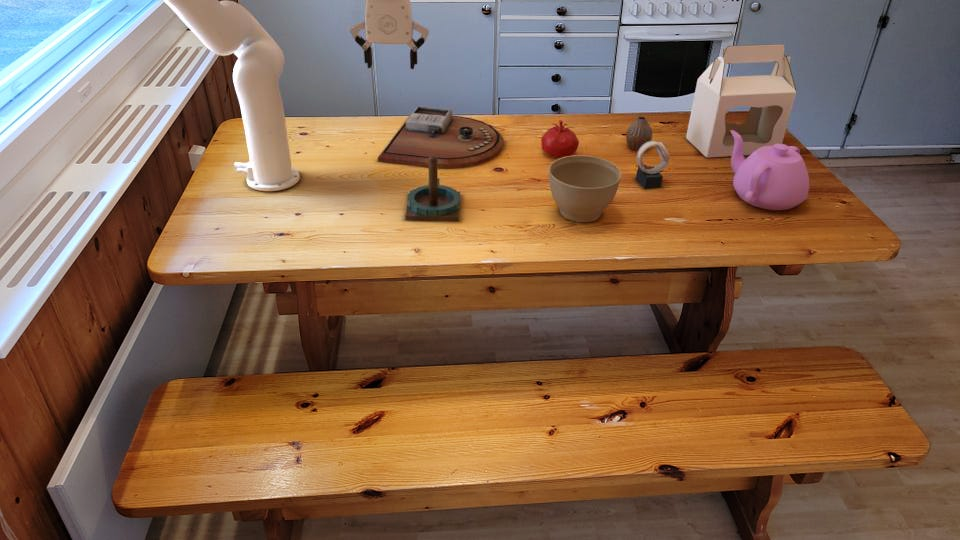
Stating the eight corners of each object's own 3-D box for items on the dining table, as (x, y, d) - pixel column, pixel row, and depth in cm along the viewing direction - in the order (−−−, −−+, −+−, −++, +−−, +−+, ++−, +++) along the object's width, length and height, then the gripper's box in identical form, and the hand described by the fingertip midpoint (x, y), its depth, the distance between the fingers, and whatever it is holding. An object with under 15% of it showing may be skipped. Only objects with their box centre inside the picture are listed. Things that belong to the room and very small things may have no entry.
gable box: (756, 134, 206) (781, 36, 190) (780, 153, 195) (809, 51, 179) (684, 138, 202) (704, 38, 186) (705, 158, 191) (728, 54, 176)
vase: (653, 146, 197) (659, 116, 192) (644, 155, 192) (649, 124, 187) (630, 140, 200) (635, 111, 195) (620, 149, 195) (625, 118, 190)
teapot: (739, 167, 187) (752, 117, 179) (820, 196, 175) (837, 144, 167) (695, 193, 174) (706, 141, 166) (779, 227, 162) (795, 172, 154)
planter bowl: (531, 208, 166) (534, 166, 160) (581, 190, 174) (585, 149, 168) (579, 238, 155) (584, 194, 149) (629, 217, 164) (636, 174, 158)
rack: (405, 220, 160) (403, 166, 153) (409, 194, 170) (408, 143, 163) (458, 221, 160) (459, 168, 153) (460, 195, 170) (460, 145, 163)
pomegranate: (558, 165, 185) (562, 131, 180) (532, 152, 192) (535, 119, 187) (585, 155, 191) (589, 123, 185) (559, 143, 197) (562, 111, 192)
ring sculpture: (668, 187, 177) (676, 146, 171) (637, 189, 175) (644, 148, 169) (658, 176, 181) (666, 136, 175) (629, 179, 180) (635, 138, 174)
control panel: (410, 100, 207) (512, 110, 202) (411, 116, 210) (511, 127, 205) (376, 143, 182) (492, 155, 177) (378, 161, 185) (491, 174, 180)
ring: (405, 215, 159) (405, 209, 159) (411, 183, 172) (410, 177, 172) (459, 216, 160) (459, 210, 159) (461, 184, 173) (461, 178, 172)
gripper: (344, -10, 148) (350, 71, 158) (427, -8, 148) (428, 73, 158) (349, -18, 154) (355, 60, 164) (429, -16, 154) (430, 62, 164)
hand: (391, 66), depth 161 cm, fingers open, 9 cm apart
